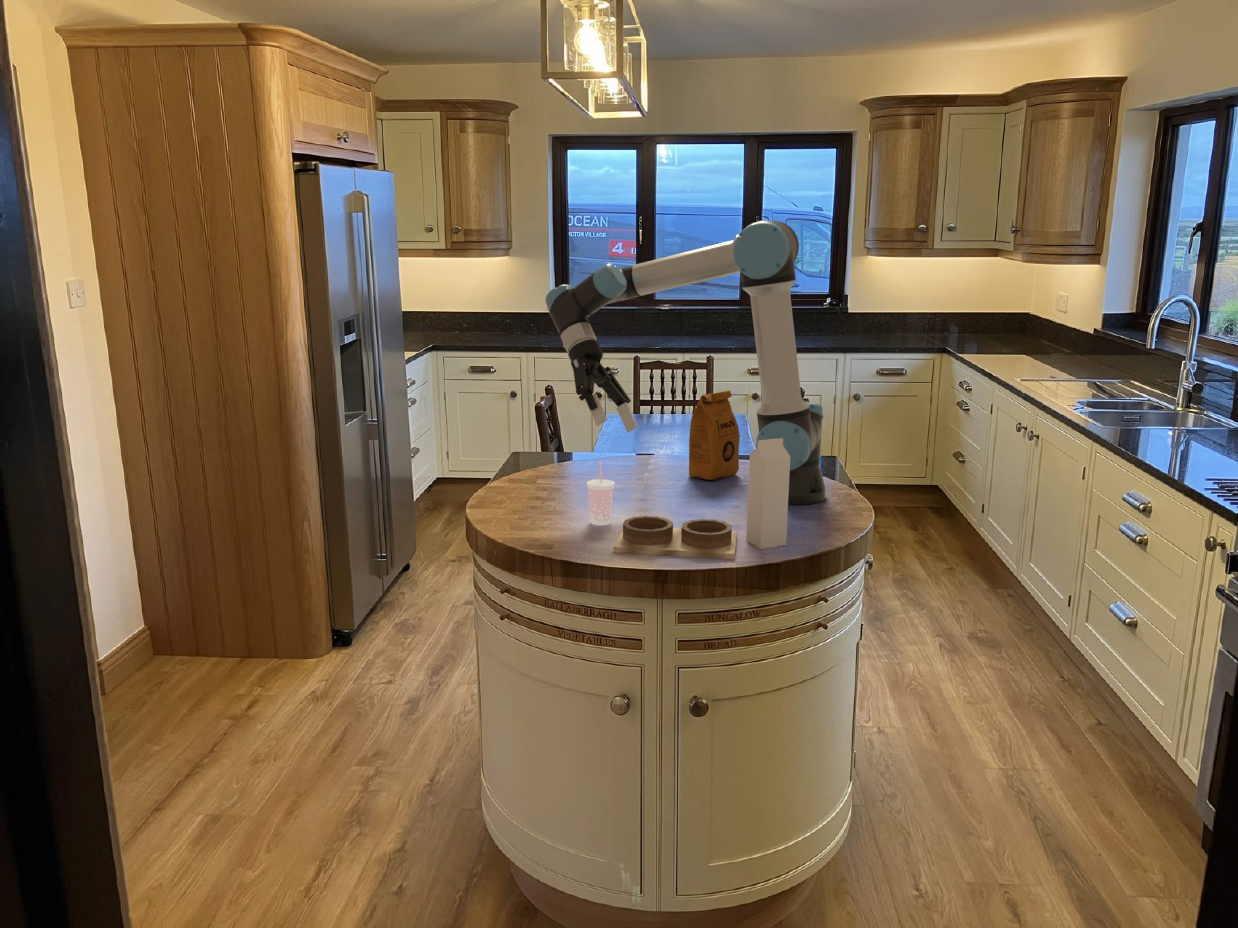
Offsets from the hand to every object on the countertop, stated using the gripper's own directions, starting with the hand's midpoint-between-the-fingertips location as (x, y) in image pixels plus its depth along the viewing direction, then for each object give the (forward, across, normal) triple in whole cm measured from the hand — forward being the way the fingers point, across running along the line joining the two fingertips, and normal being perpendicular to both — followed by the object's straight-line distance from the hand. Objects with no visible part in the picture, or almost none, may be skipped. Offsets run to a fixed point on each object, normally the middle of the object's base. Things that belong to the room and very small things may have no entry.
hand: (617, 426), depth 220 cm
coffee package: (+10, -42, 0) cm, 43 cm away
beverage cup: (+19, +4, -11) cm, 22 cm away
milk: (+39, -2, +19) cm, 43 cm away
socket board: (+32, +8, +5) cm, 34 cm away
